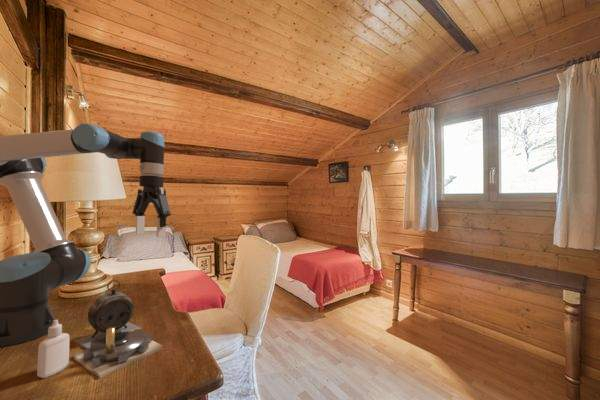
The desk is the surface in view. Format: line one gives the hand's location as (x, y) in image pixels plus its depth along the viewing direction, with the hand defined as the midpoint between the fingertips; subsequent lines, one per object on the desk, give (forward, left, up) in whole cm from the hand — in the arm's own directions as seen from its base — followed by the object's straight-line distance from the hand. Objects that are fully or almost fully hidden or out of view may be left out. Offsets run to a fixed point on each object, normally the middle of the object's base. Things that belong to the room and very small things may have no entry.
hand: (150, 235), depth 94 cm
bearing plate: (+17, -17, -29) cm, 37 cm away
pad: (+5, -14, -29) cm, 32 cm away
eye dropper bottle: (+12, -29, -29) cm, 43 cm away
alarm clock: (+5, -14, -28) cm, 32 cm away
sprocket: (+17, -17, -28) cm, 36 cm away
